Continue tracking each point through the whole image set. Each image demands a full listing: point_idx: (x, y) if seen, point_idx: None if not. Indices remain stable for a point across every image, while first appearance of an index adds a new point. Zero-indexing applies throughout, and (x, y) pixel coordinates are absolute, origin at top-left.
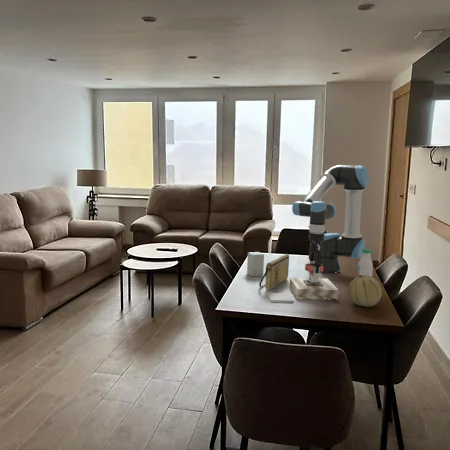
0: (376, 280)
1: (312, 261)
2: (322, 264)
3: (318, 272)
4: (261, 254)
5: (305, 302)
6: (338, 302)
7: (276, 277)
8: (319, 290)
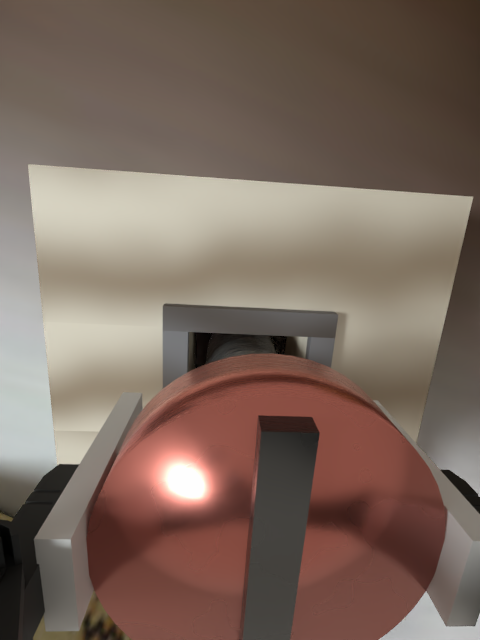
0: None
1: (45, 582)
2: (311, 435)
3: (459, 481)
4: None
5: (430, 444)
6: (469, 221)
7: (101, 635)
8: (424, 375)
